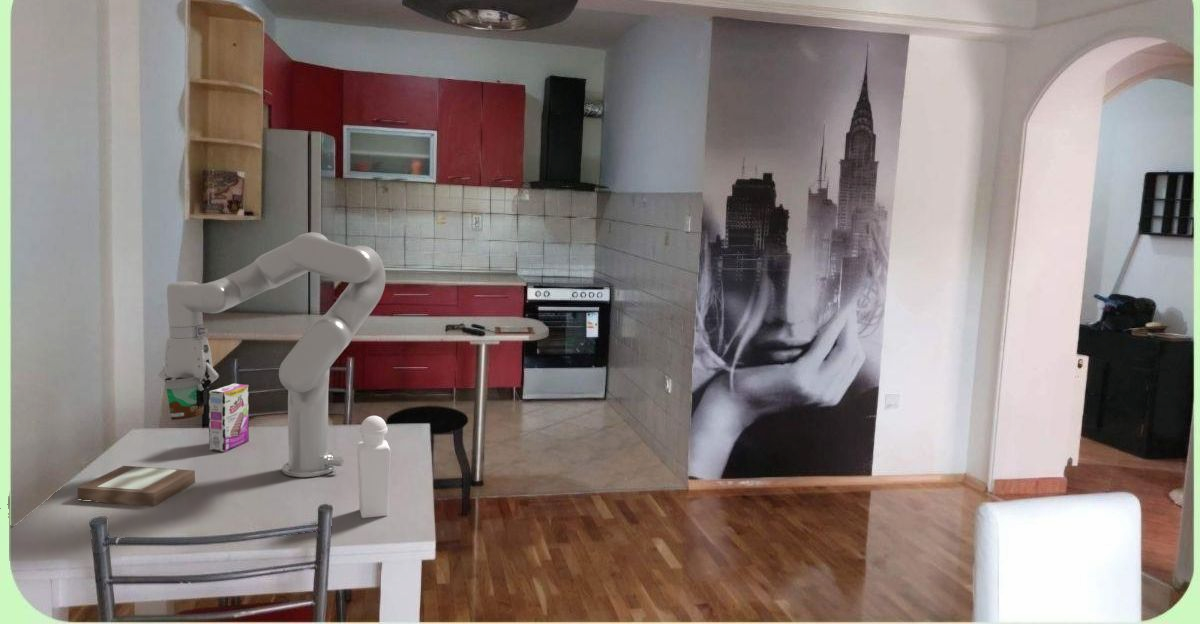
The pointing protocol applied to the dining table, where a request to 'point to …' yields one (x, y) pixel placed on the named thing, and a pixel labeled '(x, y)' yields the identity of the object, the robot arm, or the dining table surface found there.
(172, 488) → the plinth
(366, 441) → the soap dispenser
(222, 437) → the candy bar box
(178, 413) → the food container
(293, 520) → the dining table surface
